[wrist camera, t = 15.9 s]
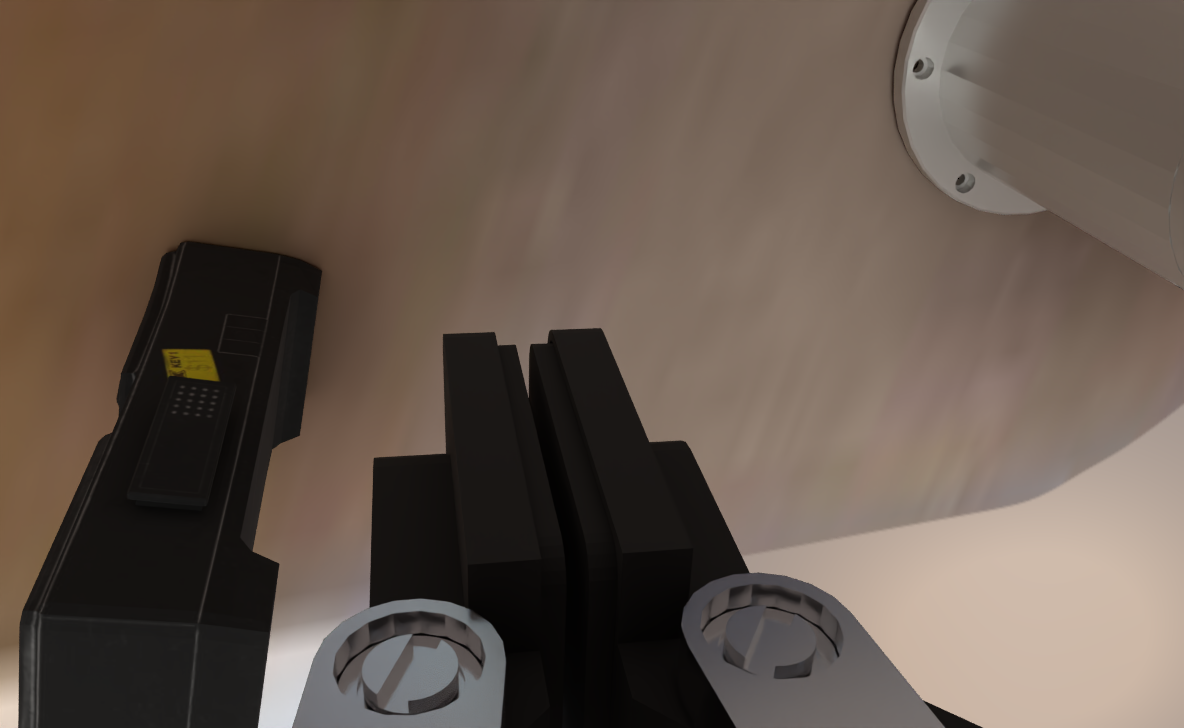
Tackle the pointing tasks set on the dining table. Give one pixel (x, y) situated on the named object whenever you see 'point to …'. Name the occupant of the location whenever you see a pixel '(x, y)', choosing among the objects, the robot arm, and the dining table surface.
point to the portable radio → (176, 509)
